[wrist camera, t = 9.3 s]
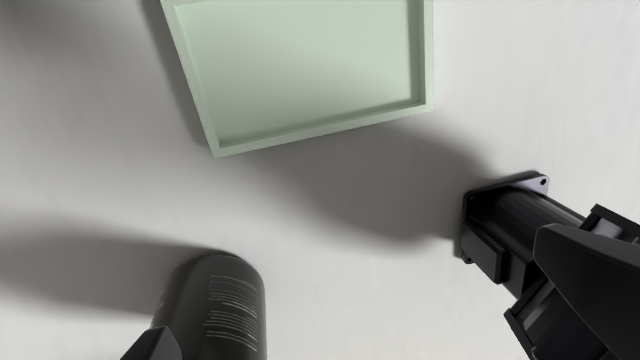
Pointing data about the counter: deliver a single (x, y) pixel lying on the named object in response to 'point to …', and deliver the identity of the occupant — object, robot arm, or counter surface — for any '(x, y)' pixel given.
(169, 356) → the robot arm
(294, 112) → the tray
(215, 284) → the supplement bottle
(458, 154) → the counter surface
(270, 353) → the counter surface
